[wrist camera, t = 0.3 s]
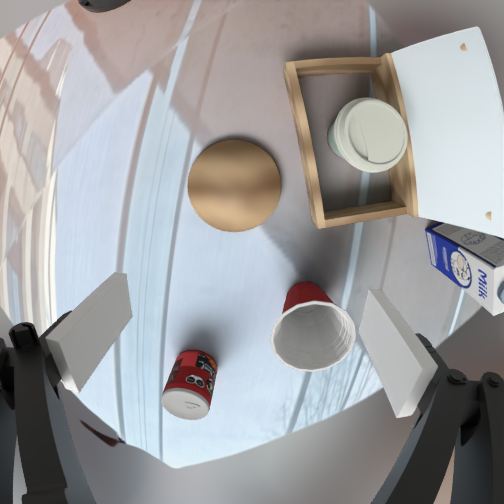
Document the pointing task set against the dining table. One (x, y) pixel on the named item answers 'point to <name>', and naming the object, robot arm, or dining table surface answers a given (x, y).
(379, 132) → the coffee cup
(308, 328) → the plastic cup
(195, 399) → the canned food
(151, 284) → the dining table surface
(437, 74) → the propped lid
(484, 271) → the milk carton
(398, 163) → the frame
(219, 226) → the cork trivet
